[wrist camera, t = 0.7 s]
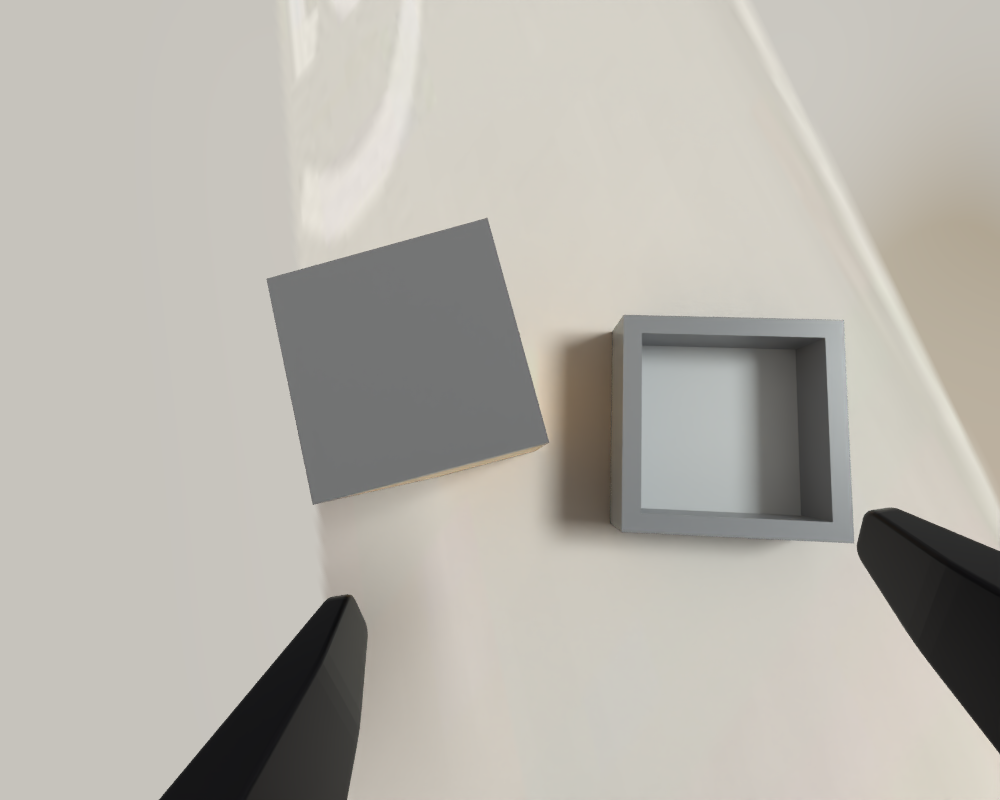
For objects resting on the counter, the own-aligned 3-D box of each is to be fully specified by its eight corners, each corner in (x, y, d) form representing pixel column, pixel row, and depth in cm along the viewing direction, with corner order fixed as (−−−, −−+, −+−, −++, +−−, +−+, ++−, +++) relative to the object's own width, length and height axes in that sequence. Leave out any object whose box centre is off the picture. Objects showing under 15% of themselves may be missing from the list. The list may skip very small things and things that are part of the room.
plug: (535, 450, 20) (548, 442, 8) (436, 477, 20) (313, 504, 9) (509, 353, 21) (487, 218, 9) (413, 379, 21) (266, 278, 9)
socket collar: (813, 532, 19) (854, 543, 17) (610, 522, 20) (621, 531, 17) (806, 335, 20) (843, 319, 18) (612, 331, 21) (623, 314, 18)
